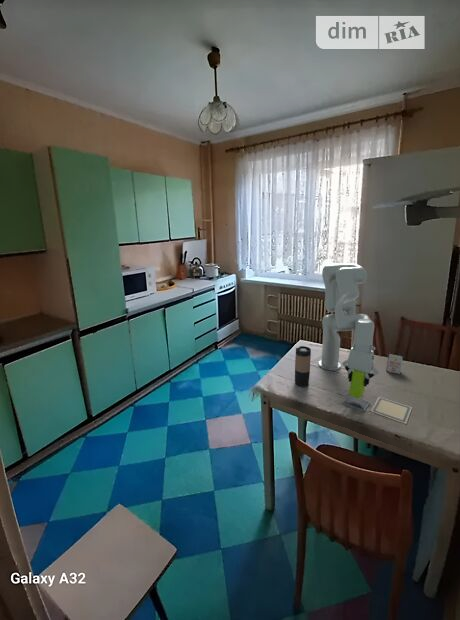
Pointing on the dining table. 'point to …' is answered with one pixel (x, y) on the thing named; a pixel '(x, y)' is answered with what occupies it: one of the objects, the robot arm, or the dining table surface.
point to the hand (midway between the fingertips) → (358, 382)
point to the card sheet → (391, 410)
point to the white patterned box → (394, 363)
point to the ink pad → (356, 403)
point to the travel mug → (302, 366)
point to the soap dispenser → (357, 384)
